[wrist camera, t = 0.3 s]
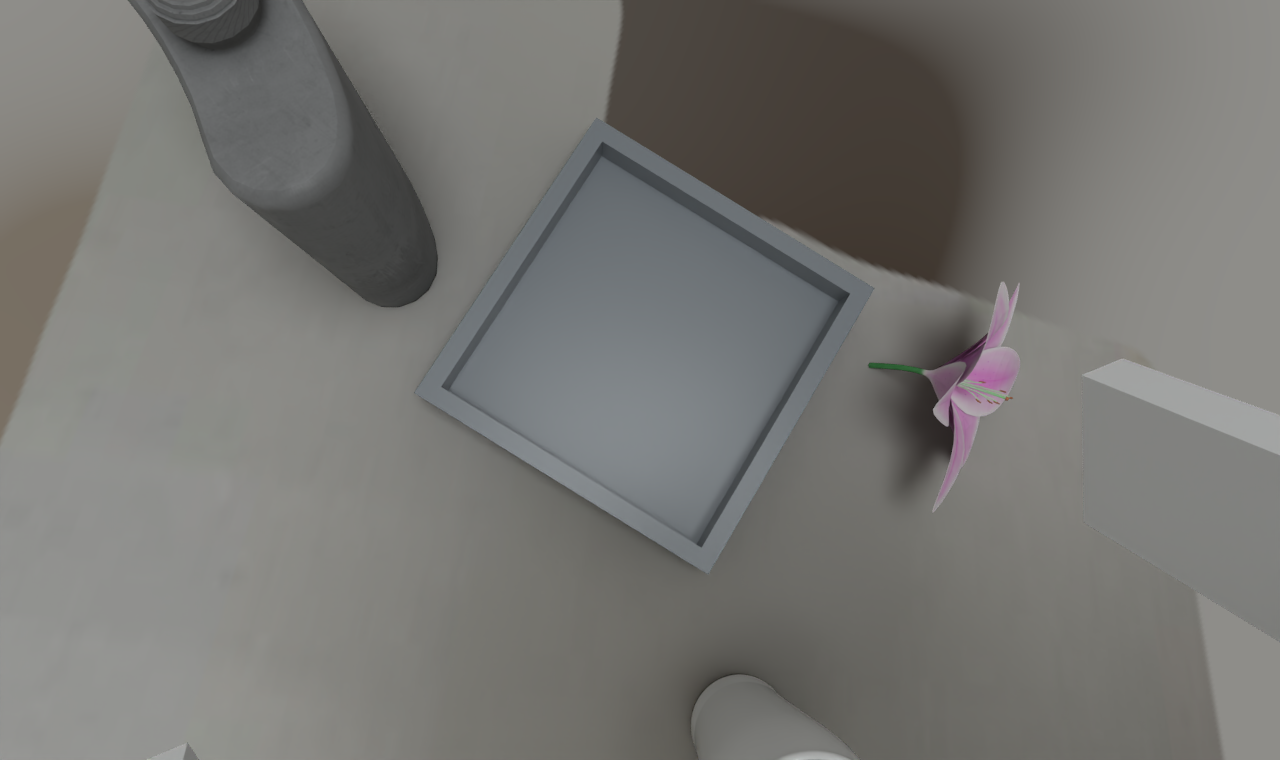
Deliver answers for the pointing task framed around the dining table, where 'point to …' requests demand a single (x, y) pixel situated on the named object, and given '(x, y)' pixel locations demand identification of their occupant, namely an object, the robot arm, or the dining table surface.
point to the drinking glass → (758, 725)
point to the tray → (647, 344)
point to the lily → (972, 385)
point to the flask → (297, 140)
